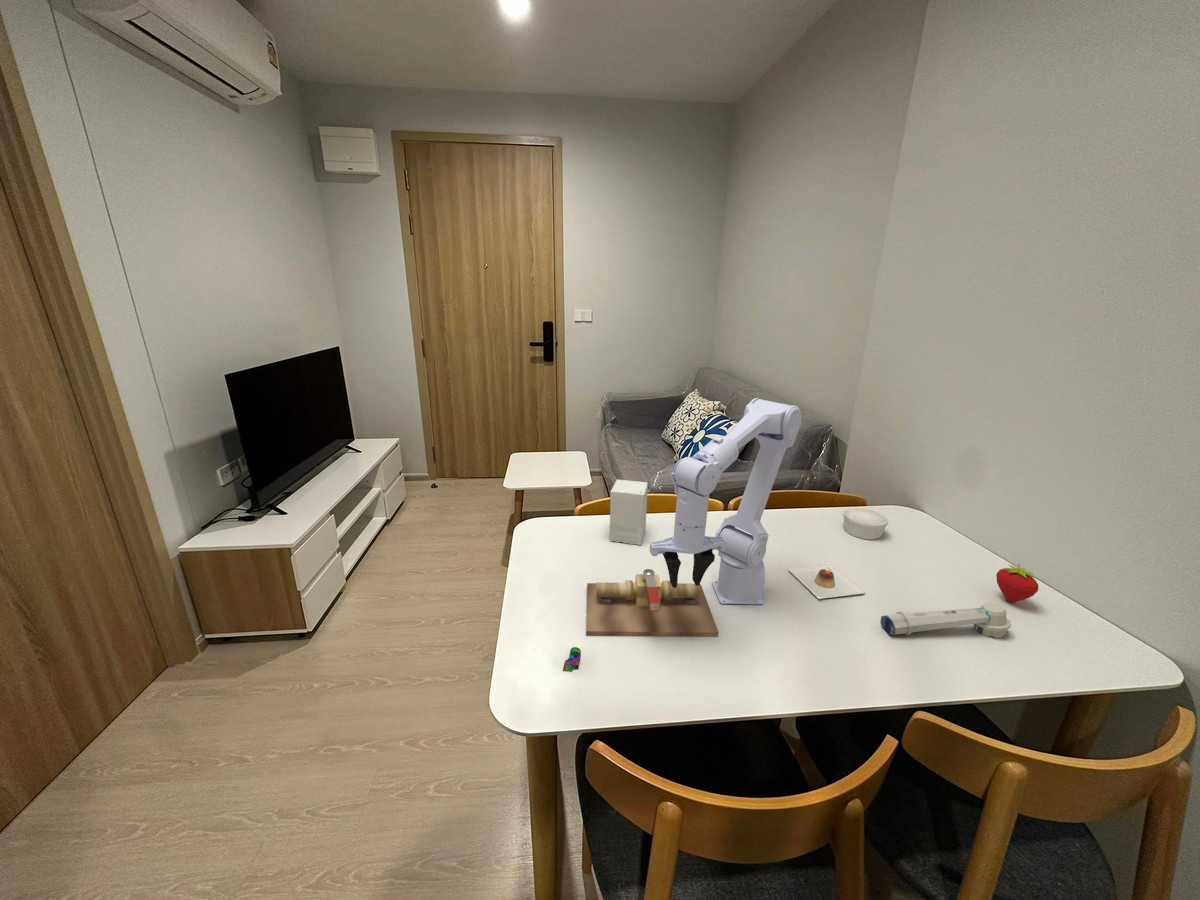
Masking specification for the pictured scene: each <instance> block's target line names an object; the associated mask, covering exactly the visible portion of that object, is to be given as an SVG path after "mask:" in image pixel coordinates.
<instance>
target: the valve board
mask: <svg viewBox="0 0 1200 900" xmlns="http://www.w3.org/2000/svg"><path fill="white" fill-rule="evenodd" d="M654 581H655V585H656V587H657V589H658V594H659V598H660V611H649V606H648V600H647V588H646V582H645V581H644V580H643V573H641V574H640V573H639V574H637V573H636V574H635V582H633V580H631V579H630V580H628V579H627V580H625V582H596V583H595V582H587V583H586V585H587V586H586V635H585V636H592V637H593V636H595V637H596V636H597V637H599V636H604V637H605V636H609V637H610V636H612V637H613V636H614V637H617V636H618V637H630V636H631V637H633V636H634V637H704V638H705V637H713V638H714V637H717V638H718V637H719V633H720V632H719V630H718V628H717V624H716V622H715V619H714V616H713V614H712V611H711V609H710V605H709V604H708V600H707V598H706V597H707V596H706V595H705V592H704V588H703V586H702V584H701V583H700V585H699V586H696V585H695V583H686V582H685V583H684V582H683V583H680V582H679V583H678V582H677V588H673V587H672V585H671V583H670V580H662V581H661V578H660V574H654Z"/></svg>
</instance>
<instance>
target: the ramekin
mask: <svg viewBox="0 0 1200 900" xmlns="http://www.w3.org/2000/svg"><path fill="white" fill-rule="evenodd" d="M842 516H843V528H844V530H845V531H846V533H847V534H849V535H851V536H853V537H855V538H858V539H863V540H869V541H871V540H872V541H873V540H877V539H878V540H879V538H881V537H882V536H883V533H884V531H885V530H886V527H887V526H888V524H889V520H888V518H887V517H886V516H885V515H883V514H881V513H879V512H877V511H874V510H870V509H867V508H860V507H859V508H857V507H851V508H850V507H849V508H846V509H844V511H843V514H842Z"/></svg>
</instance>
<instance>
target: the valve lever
mask: <svg viewBox="0 0 1200 900" xmlns="http://www.w3.org/2000/svg"><path fill="white" fill-rule="evenodd" d="M642 574H643V580H644V581H645V582H646V588H647V600H648V606H649V611H660V598H659V594H658V589H657V587H656V585H655V581H654V575H656V574H655V570H653V569H651V568H646V569H644V570H643V572H642Z"/></svg>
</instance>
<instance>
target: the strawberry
mask: <svg viewBox="0 0 1200 900" xmlns="http://www.w3.org/2000/svg"><path fill="white" fill-rule="evenodd" d="M1020 564H1021V563H1019V564H1018V567H1015V566H1013V565H1011V564H1008V566H1009V568H1008V567H1004V568H1000V569H999V570H998V571H997V573H996V583H997V586H998V588H999V590H1000V592H1001V593H1002V594H1003V596H1004V598H1005V600H1006V601H1007V602H1008V603H1010V604H1011V603H1012V604H1013V603H1014V604H1015V603H1016V602H1020V601H1024V600H1027V599H1029V598H1031V597H1032V598H1033V597H1034V595H1035V594H1036V593H1038V591H1039V583H1038V582H1037V581H1036V579H1035V576H1034V575H1033V574H1034V573H1033V572H1030V571H1027V570H1026V568H1020V566H1021V565H1020Z"/></svg>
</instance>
